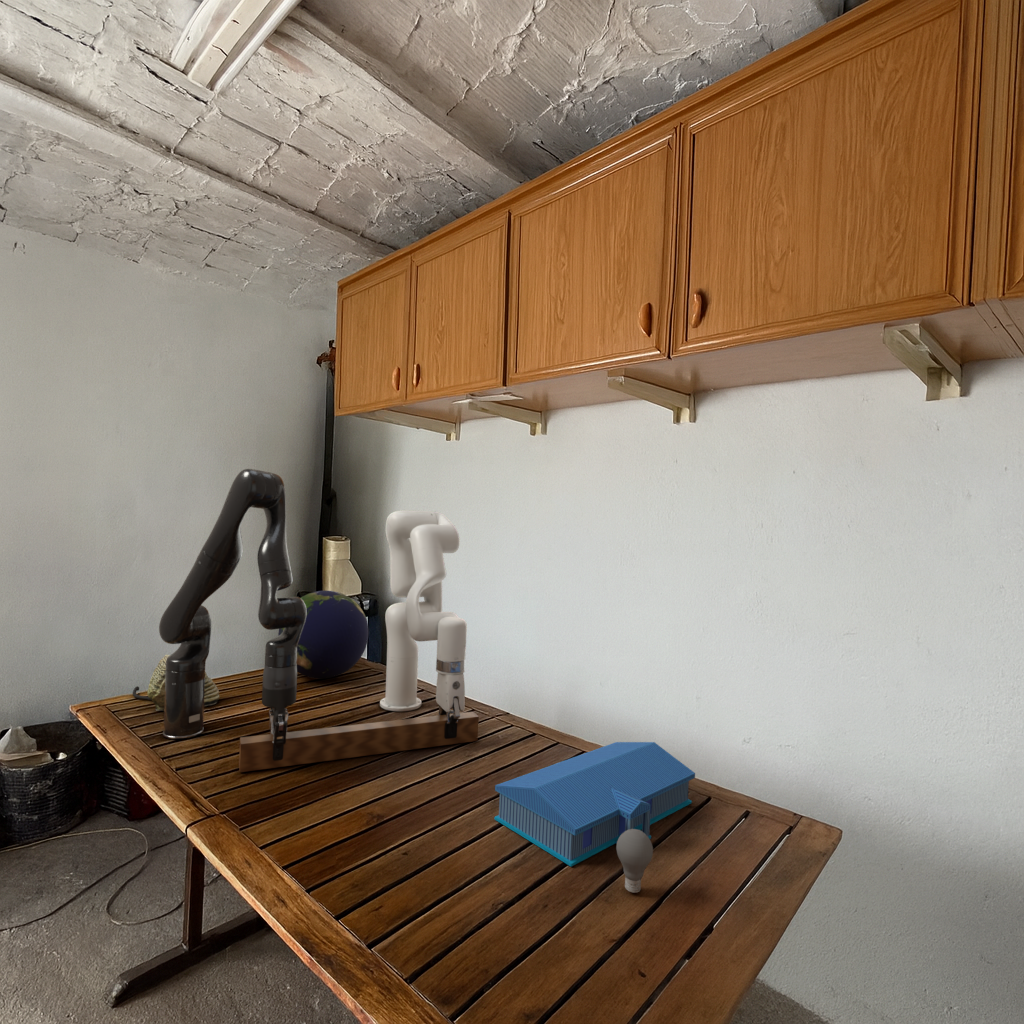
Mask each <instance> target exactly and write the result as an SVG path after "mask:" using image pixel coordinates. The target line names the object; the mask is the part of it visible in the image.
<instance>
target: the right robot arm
mask: <svg viewBox="0 0 1024 1024" xmlns="http://www.w3.org/2000/svg"><path fill="white" fill-rule="evenodd" d="M385 536H386V540H387V545H388V547H389V553H390V560H389V561H390V563H389V564H390V565H389V566H390V573H389V574H390V578H389V579H390V591H391V594H392V595H393V597H396V598H400V599H401V598H402V599H405V601H403V602H396V603H395V602H394V603H393V604H391V605H390V606H388V607H387V609H386V611H385V615H384V617H385V618H384V621H385V628H386V642H387V643H386V670H385V671H386V673H385V694H384V696H385V697H383V698H381V699H380V701H379V707H380V708H381V709H382V710H386V711H388V712H389V711H390V712H411V711H414V710H417V709H419V708H420V707H422V700H421V699H420V698H419V697H418V675H419V645H418V643H417V642H432V641H436V642H437V643H436V662H435V671H436V673H437V676H436V685H435V701H436V704H438V716H439V715H446V722H447V723H445V734H444V737H445V739H449V738H456V737H457V723H458V718H460V713H461V712H464V711H465V705H466V703H465V702H466V695H465V694H466V689H465V674H464V673H465V671H466V654H467V652H466V651H467V632H468V623H467V621H466V620H465V619H464V618H462V617H459V616H458V615H457V613H456V612H453V611H443V580H445V579H446V577H447V569H446V563H445V558H444V554H454V553H456V552H457V551H458V550H459V549H460V544H461V538H460V533H459V531H458V529H457V527H456V526H455V525H454V523H453V522H452V521H451V520H450V519H449V518H448V517H447V516H446V515H445V514H444V513H442V512H441V511H436V510H435V511H434V510H416V509H415V510H414V509H412V510H411V509H402V510H395V511H392V512H391V513H389V514H388V516H387V518H386V521H385ZM420 598H423V600H424V601H420ZM450 714H453V715H451V717H450Z"/></svg>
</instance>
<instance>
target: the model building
mask: <svg viewBox="0 0 1024 1024" xmlns="http://www.w3.org/2000/svg"><path fill="white" fill-rule="evenodd" d="M695 778H696V772H694V771H693V770H692V769H690V768H689V767H688V766H687V765H685V764H684V763H683V762H681V761H680V760H678V758H676V757H675V756H674V755H672V754H670V753H669V752H668V751H667V750H665V749H664V748H663V747H662V746H660V745H659V744H658V743H656V742H655V741H615V742H613V743H610V744H606V745H603V746H601V747H599V748H596V749H594V750H590V751H587V752H584V753H582V754H579V755H576V756H573V757H570V758H567V759H565V760H562V761H560V762H559V761H558V762H556V763H553V764H551V765H549V766H548V765H547V766H546V767H543V768H541V769H537V770H534V771H531V772H529V773H526V774H523V775H520V776H518V777H515V778H511V779H509V780H507V781H503V782H501V783H498V784H495V785H494V791H495V792H496V793H498V794H499V801H498V802H499V803H498V804H499V805H498V814H497V815H495V816H494V818H493V819H494V821H496V822H498V823H499V824H501V825H503V826H505V827H506V828H508V829H509V830H510V831H513V832H514V833H515V834H517V835H519V836H520V837H522V838H524V839H525V840H527V841H529V842H530V843H532V844H534V845H535V846H537V847H538V848H540V849H542V850H543V851H545V852H546V853H548V854H550V855H551V856H552V857H555V858H556V859H558V860H559V861H561V862H563V863H564V864H566V865H567V866H569V867H572V868H573V866H575V865H577V864H579V863H582V862H583V861H585V860H587V859H589V858H590V857H593V856H594V855H596V854H598V853H600V852H602V851H604V850H606V849H607V848H608V849H609V848H610V847H612V846H613V845H615V844H616V845H617V841H618V839H619V837H620V835H621V834H622V833H623V832H625V831H627V830H629V829H637V830H640V831H642V832H644V833H645V834H646V835H647V836H648V838H649V839H650V840H652V835H651V834H650V829H651V828H650V827H651V825H653V824H655V823H657V822H658V821H661V820H663V819H665V818H666V817H668V816H670V815H672V814H674V813H675V812H678V811H679V810H681V809H683V808H685V807H687V806H689V805H691V804H693V800H691V799H689V786H690V785H689V784H690V783H689V782H690V781H692V780H693V779H695Z"/></svg>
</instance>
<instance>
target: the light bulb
mask: <svg viewBox="0 0 1024 1024" xmlns="http://www.w3.org/2000/svg"><path fill="white" fill-rule="evenodd" d="M615 849H616V854H617V857H618V859H619V861H620V863H621V865H622V867H623V873H624V874H623V875H624V876H625V878H624V888H625V890H627V891H628V892H630V893H634V894H635V893H639V892H640V891H641V889H642V887H641V886H642V879H643V877H644V875H645V871H646V868H647V867H648V866H649V864H650V863H651V861H652V859H653V855H654V847H653V843H652V841H651V839H649V838H648V836H647V835H646V834H645V833H644V832H642V830H641V831H640V830H637V829H629V830H627V831H625V832H623V833H622V834H621V835H620V837H619V839H618V841H617V844H616V847H615Z"/></svg>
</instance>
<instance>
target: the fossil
mask: <svg viewBox="0 0 1024 1024" xmlns="http://www.w3.org/2000/svg"><path fill="white" fill-rule="evenodd" d="M170 655H171V654H165V655H164V656H163V657H162V658H161V659H160V660H159V662H158V663H157V666H156V667H155V669H154V670H153V672H152V675H151V677H150V680H149V684H148V688H147V697H149V698H150V699H151V700H150V701H152V703H153V704H154V706H155V711H158V712H159V711H162V712H163V711H164V705H165V674H166V660H167V658H168V657H169V656H170ZM220 698H221V696H220V690H219V688H218V686H217V685H216V683H215V682H214V681H213V679H212V678H211V677H209V675H208V674H207V672H206V671H205V693H204V707H207V706H213V705H215V704H217V703H218V701H219V699H220Z"/></svg>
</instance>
